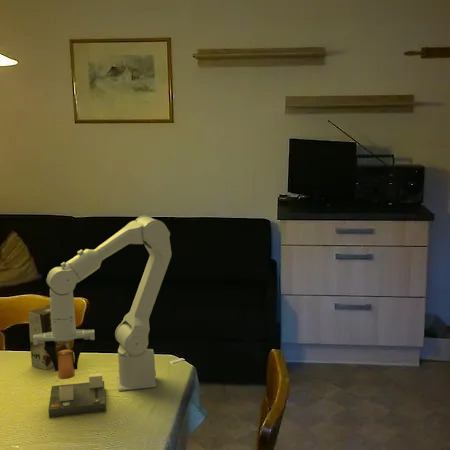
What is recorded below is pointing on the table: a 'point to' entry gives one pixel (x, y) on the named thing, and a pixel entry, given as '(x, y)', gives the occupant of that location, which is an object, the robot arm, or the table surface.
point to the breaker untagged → (95, 380)
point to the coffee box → (40, 325)
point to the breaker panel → (77, 401)
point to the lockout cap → (65, 364)
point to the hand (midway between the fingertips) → (66, 368)
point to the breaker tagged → (66, 393)
